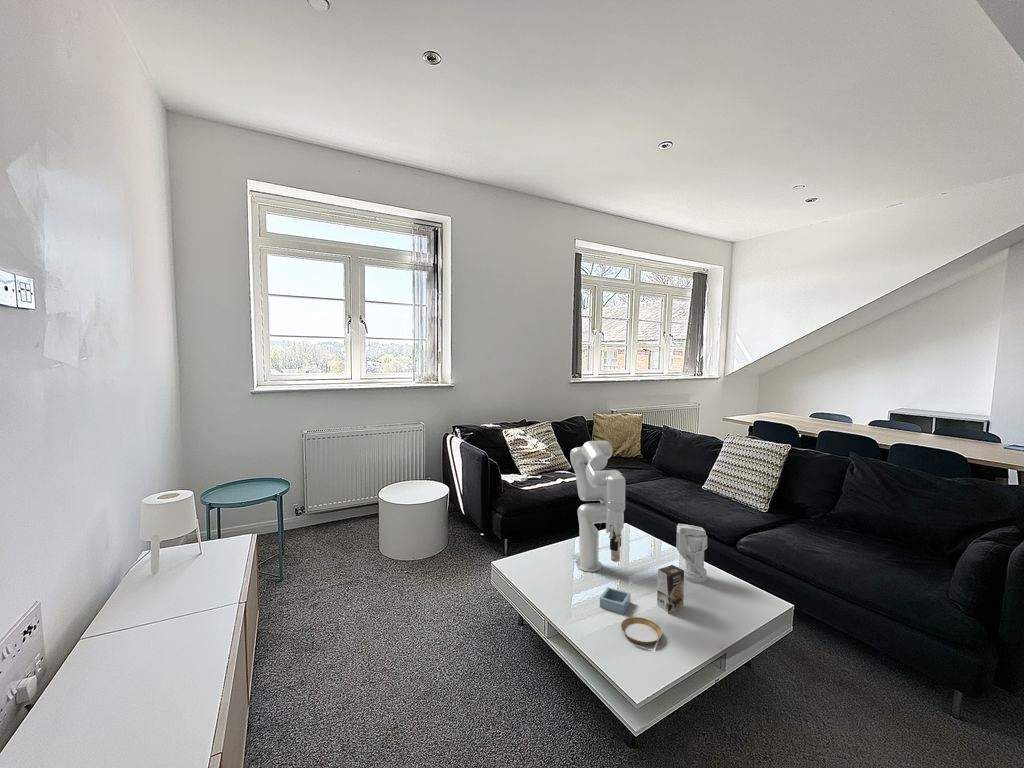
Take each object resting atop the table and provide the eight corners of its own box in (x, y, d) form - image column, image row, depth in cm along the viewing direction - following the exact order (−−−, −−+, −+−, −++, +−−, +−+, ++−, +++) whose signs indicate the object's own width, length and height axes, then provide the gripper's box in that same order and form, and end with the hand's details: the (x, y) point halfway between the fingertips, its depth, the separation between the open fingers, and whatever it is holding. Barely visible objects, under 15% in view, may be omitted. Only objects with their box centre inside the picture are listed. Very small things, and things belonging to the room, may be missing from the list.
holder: (599, 608, 173) (599, 598, 173) (607, 596, 182) (607, 586, 182) (623, 616, 168) (623, 605, 168) (630, 603, 177) (630, 593, 176)
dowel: (609, 560, 174) (609, 532, 173) (612, 557, 177) (612, 529, 176) (618, 562, 172) (618, 534, 171) (621, 559, 175) (621, 531, 174)
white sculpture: (702, 572, 202) (703, 522, 200) (709, 584, 191) (710, 531, 190) (674, 571, 203) (675, 521, 202) (680, 582, 193) (681, 530, 192)
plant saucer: (634, 618, 167) (634, 612, 167) (669, 636, 156) (669, 629, 156) (613, 634, 157) (613, 627, 157) (648, 654, 146) (648, 647, 146)
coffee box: (668, 614, 169) (669, 575, 168) (656, 606, 175) (656, 568, 174) (684, 608, 173) (684, 570, 172) (671, 600, 179) (672, 563, 178)
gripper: (613, 498, 182) (613, 538, 183) (600, 509, 168) (600, 554, 169) (630, 500, 178) (630, 542, 179) (618, 513, 164) (618, 558, 165)
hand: (615, 547), depth 174 cm, fingers closed on dowel, 3 cm apart
